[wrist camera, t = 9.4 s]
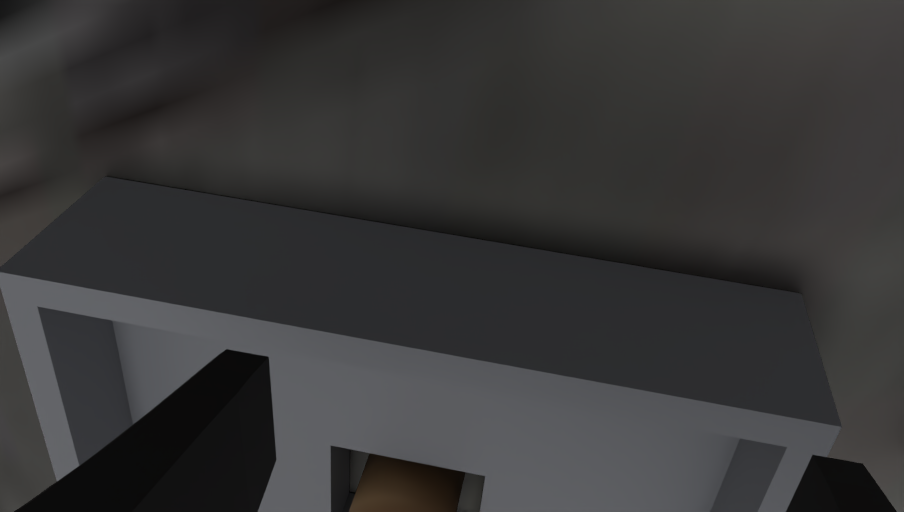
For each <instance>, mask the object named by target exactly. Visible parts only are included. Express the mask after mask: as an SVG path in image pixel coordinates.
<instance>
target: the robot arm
mask: <svg viewBox="0 0 904 512" xmlns="http://www.w3.org/2000/svg"><path fill="white" fill-rule="evenodd" d="M276 460H277V459H276V446H275V433H274V419H273V406H272V393H271V380H270V366H269V357H267V356H262V355H256V354H251V353H245V352H240V351H234V350H229V349H226V350H225V351H223V352H222V353H220V354H219V355H218V356H216V357H215V358H214V359H213V360H211V361H210V362H209V363H208V364H207V365H205V366H204V367H203V368H202V369H200V370H199V371H198V372H197V373H196V374H194V375H193V376H192V377H191V378H190V379H188V380H187V381H186V382H185V383H184V384H182V385H181V386H180V387H179V388H178V389H176V390H175V391H174V392H173V393H171V394H170V395H169V396H168V397H167V398H165V399H164V400H163V401H162V402H160V403H159V404H158V405H157V406H156V407H154V408H153V409H152V410H151V411H149V412H148V413H147V414H146V415H144V416H143V417H142V418H141V419H139V420H138V421H137V422H136V423H134V424H133V425H132V426H130V427H129V428H128V429H127V430H125V431H124V432H123V433H121V434H120V435H119V436H118V437H116V438H115V439H114V440H112V441H111V442H110V443H109V444H107V445H106V446H105V447H103V448H102V449H101V450H100V451H98V452H97V453H96V454H94V455H93V456H92V457H90V458H89V459H88V460H86V461H85V462H84V463H82V464H81V465H79V466H78V467H77V468H75V469H74V470H72V471H71V472H70V473H68V474H67V475H65V476H64V477H63V478H61V479H60V480H58V481H57V482H56V483H54V484H53V485H51V486H50V487H49V488H47V489H46V490H44V491H43V492H42V493H40V494H39V495H37V496H36V497H35V498H33V499H32V500H30V501H29V502H28V503H26V504H25V505H23V506H22V507H20V508H19V509H17V510H16V511H14V512H258V509H259V507H260V504H261V502H262V499H263V496H264V493H265V491H266V488H267V485H268V482H269V479H270V477H271V474H272V471H273V468H274V465H275V463H276ZM786 512H897V511H896V510H895V509H894V507H893V506H892V504H891V503H890V502H889V500H888V499H887V497H886V496H885V494H884V493H883V492H882V490H881V489H880V487H879V486H878V484H877V483H876V482H875V480H874V479H873V477H872V476H871V475H870V473H869V472H868V470H867V469H866V468H865V466H864V465H863V464H861V463H856V462H850V461H845V460H839V459H834V458H828V457H822V456H817V455H812V457H811V459H810V461H809V463H808V466H807V468H806V470H805V472H804V474H803V476H802V478H801V481H800V483H799V485H798V487H797V489H796V491H795V493H794V495H793V498H792V500H791V502H790V504H789V506H788V508H787V510H786Z"/></svg>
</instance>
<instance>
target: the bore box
mask: <svg viewBox="0 0 904 512" xmlns="http://www.w3.org/2000/svg"><path fill="white" fill-rule="evenodd" d="M0 288H1V291H2V294H3V298H4V301H5V305H6V308H7V312H8V315H9V318H10V322H11V325H12V329H13V332H14V336H15V339H16V342H17V346H18V349H19V353H20V356H21V360H22V363H23V367H24V370H25V373H26V377H27V380H28V384H29V387H30V391H31V394H32V397H33V401H34V404H35V408H36V411H37V415H38V418H39V421H40V425H41V428H42V432H43V435H44V439H45V442H46V445H47V449H48V452H49V456H50V459H51V463H52V466H53V469H54V473H55V476H56V480H57V481H58V480H60V479H61V478H63V477H64V476H65V475H67V474H68V473H70V472H71V471H72V470H74V469H75V468H77V467H78V466H79V465H81V464H82V463H84V462H85V461H86V460H88V459H89V458H90V457H92V456H93V455H94V454H96V453H97V452H98V451H100V450H101V449H102V448H103V447H105V446H106V445H107V444H109V443H110V442H111V441H112V440H114V439H115V438H116V437H118V436H119V435H120V434H121V433H123V432H124V431H125V430H127V429H128V428H129V427H130V426H132V425H133V424H134V423H136V422H137V421H138V420H139V419H141V418H142V417H143V416H144V415H146V414H147V413H148V412H149V411H151V410H152V409H153V408H154V407H156V406H157V405H158V404H159V403H160V402H162V401H163V400H164V399H165V398H167V397H168V396H169V395H170V394H171V393H173V392H174V391H175V390H176V389H178V388H179V387H180V386H181V385H182V384H184V383H185V382H186V381H187V380H188V379H190V378H191V377H192V376H193V375H194V374H196V373H197V372H198V371H199V370H200V369H202V368H203V367H204V366H205V365H207V364H208V363H209V362H210V361H211V360H213V359H214V358H215V357H216V356H218V355H219V354H220V353H222V352H223V351H225V350H226V349H229V350H234V351H240V352H245V353H251V354H256V355H262V356H267V357H269V366H270V380H271V393H272V406H273V419H274V433H275V446H276V459H277V460H276V463H275V465H274V468H273V471H272V474H271V477H270V479H269V482H268V485H267V488H266V491H265V493H264V496H263V499H262V502H261V504H260V507H259V509H258V512H349V510H350V507H351V504H352V501H353V499H354V496H355V494H353V493H349V475H350V449H351V450H356V451H361V452H366V453H371V454H376V455H382V456H387V457H392V458H397V459H402V460H407V461H412V462H417V463H422V464H427V465H432V466H437V467H442V468H447V469H452V470H457V471H462V472H467V473H472V474H477V475H482V476H485V482H484V488H483V494H482V501H481V507H480V512H786V510H787V508H788V506H789V504H790V502H791V500H792V498H793V495H794V493H795V491H796V489H797V487H798V485H799V483H800V481H801V478H802V476H803V474H804V472H805V470H806V468H807V466H808V463H809V461H810V459H811V457H812V455H817V456H822V457H827V455H828V453H829V451H830V449H831V447H832V445H833V444H834V442H835V440H836V438H837V436H838V434H839V432H840V430H841V428H842V426H841V423H840V419H839V416H838V413H837V409H836V406H835V403H834V400H833V396H832V393H831V390H830V386H829V383H828V380H827V376H826V373H825V370H824V367H823V363H822V360H821V357H820V353H819V350H818V347H817V343H816V340H815V337H814V334H813V330H812V327H811V324H810V320H809V317H808V314H807V310H806V307H805V304H804V301H803V297H802V294H801V293H795V292H789V291H783V290H777V289H771V288H765V287H759V286H753V285H747V284H741V283H736V282H730V281H724V280H718V279H712V278H706V277H700V276H694V275H688V274H682V273H676V272H670V271H664V270H658V269H652V268H646V267H640V266H635V265H629V264H623V263H617V262H611V261H605V260H599V259H593V258H587V257H581V256H575V255H569V254H563V253H557V252H551V251H545V250H539V249H533V248H528V247H522V246H516V245H510V244H504V243H498V242H492V241H486V240H480V239H474V238H468V237H462V236H456V235H450V234H444V233H438V232H432V231H427V230H421V229H415V228H409V227H403V226H397V225H391V224H385V223H379V222H373V221H367V220H361V219H355V218H349V217H343V216H337V215H331V214H326V213H320V212H314V211H308V210H302V209H296V208H290V207H284V206H278V205H272V204H266V203H260V202H254V201H248V200H242V199H236V198H230V197H224V196H219V195H213V194H207V193H201V192H195V191H189V190H183V189H177V188H171V187H165V186H159V185H153V184H147V183H141V182H135V181H129V180H123V179H118V178H112V177H106V176H105V177H104V178H103V179H101V180H100V181H99V182H98V183H97V184H96V185H94V186H93V187H92V188H91V189H90V190H89V191H88V192H86V193H85V194H84V195H83V196H82V197H81V198H80V199H78V200H77V201H76V202H75V203H74V204H73V205H71V206H70V207H69V208H68V209H67V210H66V211H65V212H63V213H62V214H61V215H60V216H59V217H58V218H57V219H55V220H54V221H53V222H52V223H51V224H50V225H48V226H47V227H46V228H45V229H44V230H43V231H42V232H40V233H39V234H38V235H37V236H36V237H35V238H34V239H32V240H31V241H30V242H29V243H28V244H27V245H25V246H24V247H23V248H22V249H21V250H20V251H19V252H17V253H16V254H15V255H14V256H13V257H12V258H11V259H9V260H8V261H7V262H6V263H5V264H4V265H2V266H1V267H0Z"/></svg>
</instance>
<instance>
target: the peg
mask: <svg viewBox="0 0 904 512" xmlns="http://www.w3.org/2000/svg"><path fill="white" fill-rule="evenodd" d="M464 475H465V472H462V471H457V470H452V469H447V468H442V467H437V466H432V465H427V464H422V463H417V462H412V461H407V460H402V459H397V458H392V457H387V456H382V455H376V454H371V453H370V454H369V457H368V460H367V463H366V465H365V468H364V471H363V474H362V476H361V479H360V482H359V485H358V488H357V490H356V493H355V496H354V499H353V501H352V504H351V507H350V510H349V512H456V511H457V507H458V502H459V498H460V493H461V489H462V484H463V480H464Z"/></svg>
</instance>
